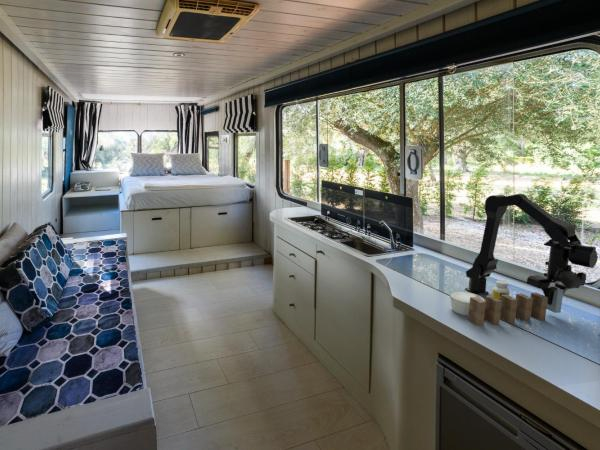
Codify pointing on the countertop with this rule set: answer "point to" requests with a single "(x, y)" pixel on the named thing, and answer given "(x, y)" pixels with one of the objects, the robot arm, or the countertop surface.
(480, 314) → the tile
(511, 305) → the brown wooden block
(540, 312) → the brown rectangular block
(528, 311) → the brown rectangular block
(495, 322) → the tile
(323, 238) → the countertop surface
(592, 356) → the countertop surface
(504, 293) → the supplement bottle
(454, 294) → the ramekin
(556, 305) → the block
